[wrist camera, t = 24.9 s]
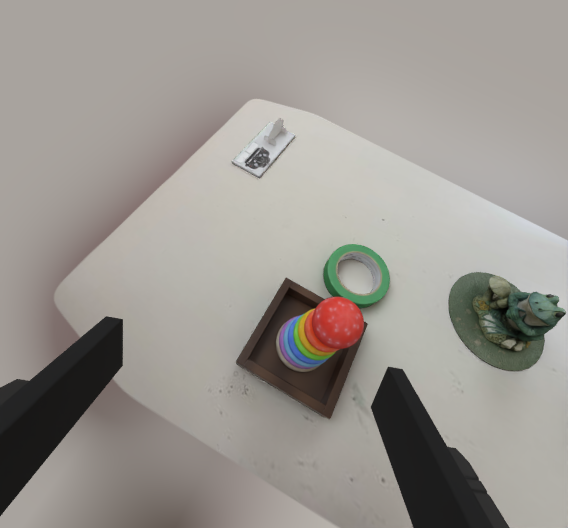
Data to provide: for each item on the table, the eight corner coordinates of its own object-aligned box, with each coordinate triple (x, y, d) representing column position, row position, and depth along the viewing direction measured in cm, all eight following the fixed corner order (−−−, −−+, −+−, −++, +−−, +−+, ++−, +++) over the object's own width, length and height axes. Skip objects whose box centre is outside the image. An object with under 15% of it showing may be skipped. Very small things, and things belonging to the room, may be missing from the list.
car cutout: (269, 123, 61) (271, 104, 57) (294, 136, 61) (298, 118, 57) (231, 162, 55) (230, 145, 51) (259, 178, 54) (260, 161, 50)
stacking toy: (290, 382, 39) (328, 380, 22) (266, 332, 41) (282, 296, 24) (335, 356, 41) (399, 336, 24) (309, 310, 44) (351, 263, 27)
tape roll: (381, 255, 51) (388, 249, 48) (384, 312, 46) (392, 308, 44) (324, 246, 50) (328, 239, 47) (321, 303, 45) (325, 298, 43)
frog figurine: (437, 270, 51) (488, 241, 41) (520, 274, 53) (588, 247, 43) (464, 371, 44) (534, 366, 33) (559, 370, 46) (652, 366, 36)
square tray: (236, 363, 39) (235, 361, 36) (282, 285, 46) (286, 277, 42) (322, 416, 38) (330, 419, 35) (358, 328, 44) (367, 323, 41)
